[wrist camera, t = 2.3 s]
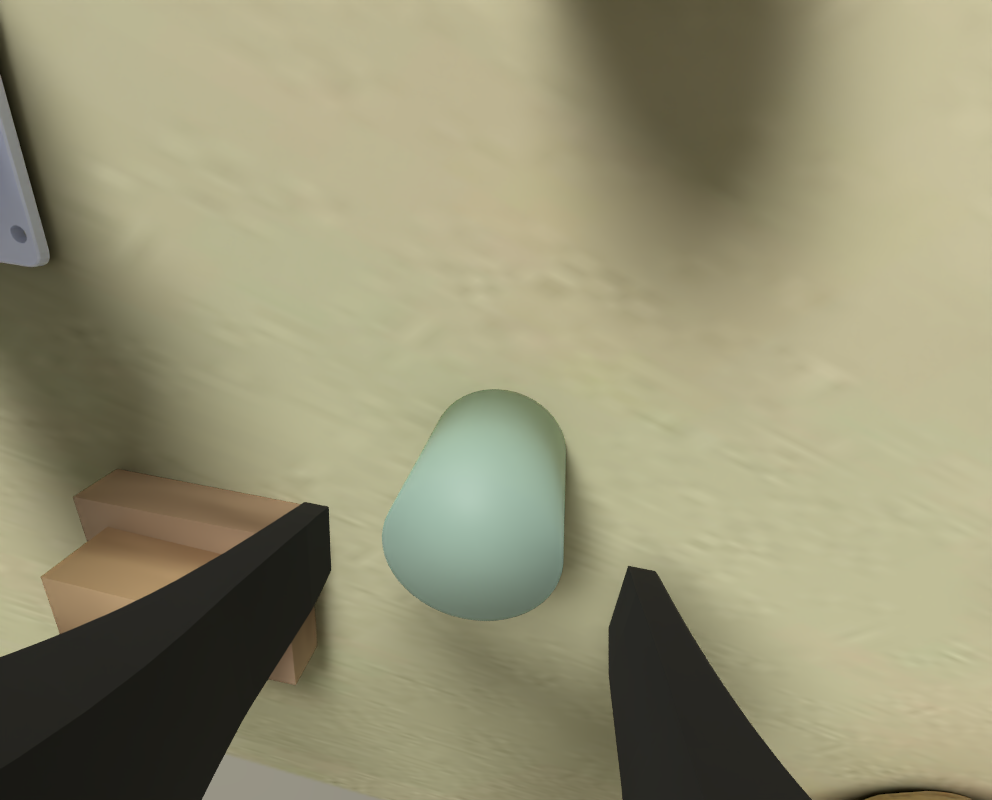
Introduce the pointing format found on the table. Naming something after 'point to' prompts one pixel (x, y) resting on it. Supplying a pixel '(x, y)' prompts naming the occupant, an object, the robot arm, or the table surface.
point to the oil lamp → (919, 796)
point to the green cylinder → (483, 510)
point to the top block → (115, 574)
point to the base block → (191, 529)
